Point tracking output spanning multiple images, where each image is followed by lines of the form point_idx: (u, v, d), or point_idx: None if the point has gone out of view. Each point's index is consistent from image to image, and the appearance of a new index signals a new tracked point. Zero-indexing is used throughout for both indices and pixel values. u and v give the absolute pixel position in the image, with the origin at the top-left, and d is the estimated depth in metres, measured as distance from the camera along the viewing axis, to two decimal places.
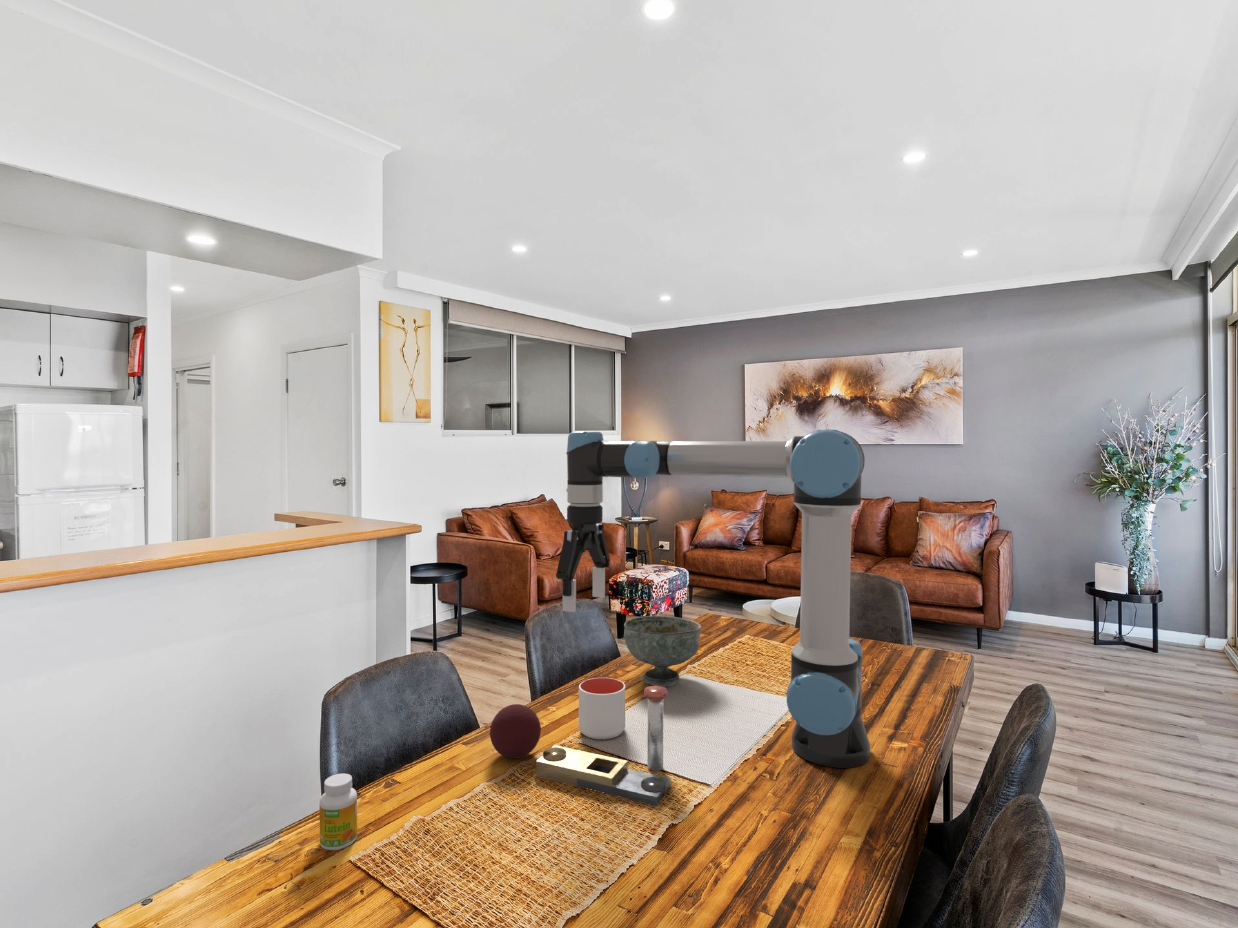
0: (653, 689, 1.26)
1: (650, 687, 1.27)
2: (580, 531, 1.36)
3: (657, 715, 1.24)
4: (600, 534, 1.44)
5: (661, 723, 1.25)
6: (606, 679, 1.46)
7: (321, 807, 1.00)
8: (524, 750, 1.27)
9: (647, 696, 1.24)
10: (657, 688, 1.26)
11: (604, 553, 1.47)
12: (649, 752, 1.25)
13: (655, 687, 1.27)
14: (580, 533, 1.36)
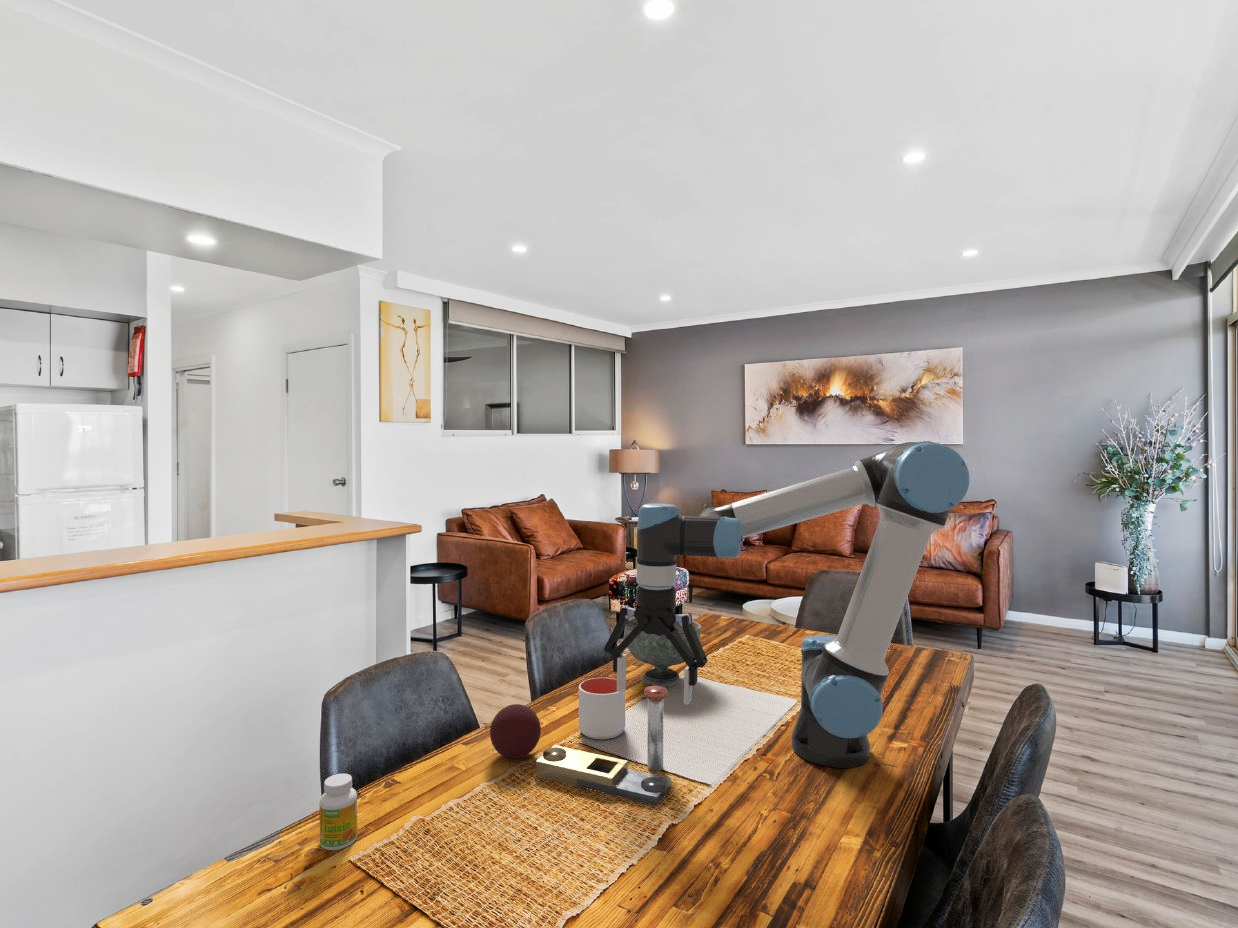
0: (653, 689, 1.26)
1: (650, 687, 1.27)
2: (635, 611, 1.26)
3: (657, 715, 1.24)
4: None
5: (661, 723, 1.25)
6: (606, 679, 1.46)
7: (321, 807, 1.00)
8: (524, 750, 1.27)
9: (647, 696, 1.24)
10: (657, 688, 1.26)
11: None
12: (649, 752, 1.25)
13: (655, 687, 1.27)
14: (634, 613, 1.26)
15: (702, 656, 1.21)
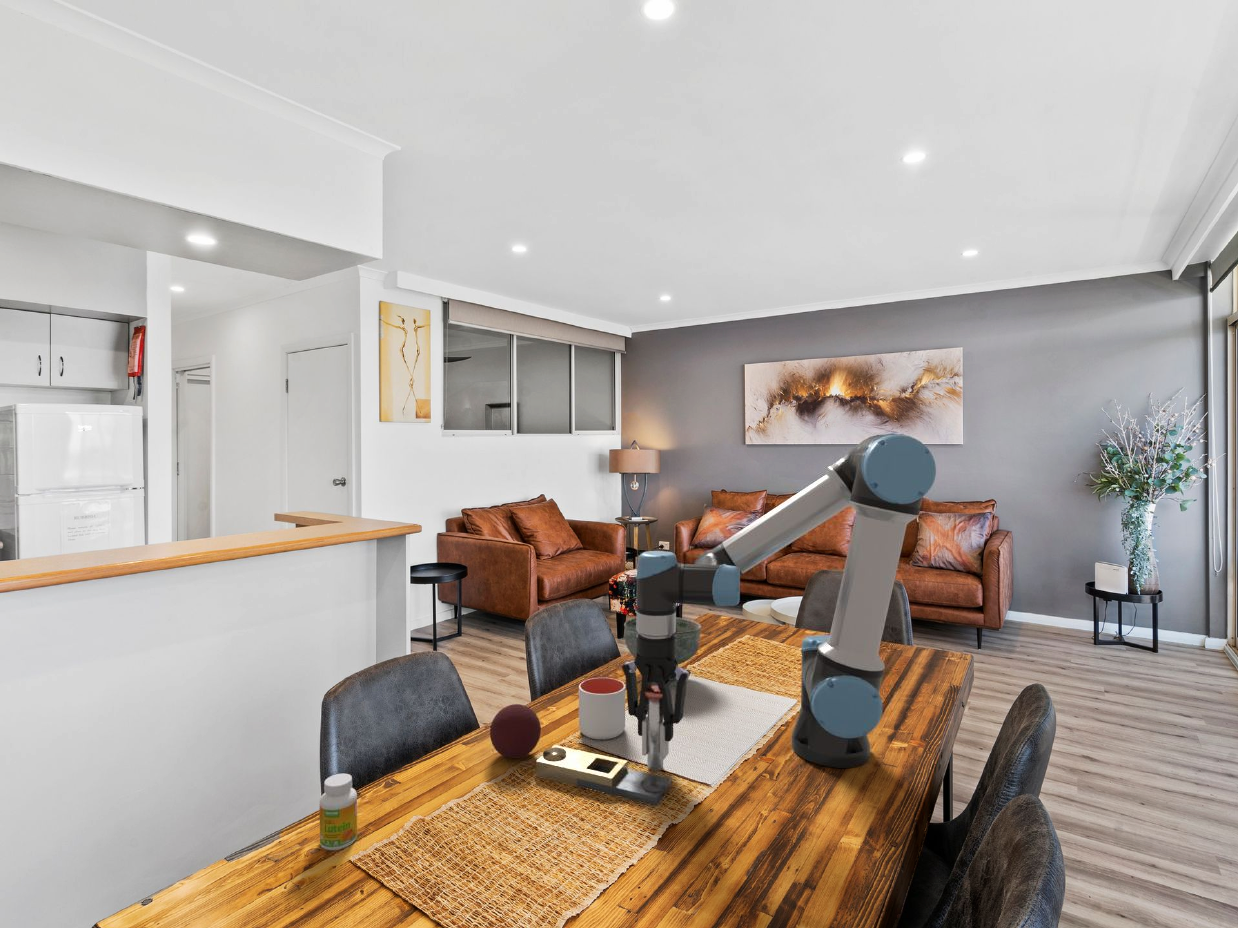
0: (653, 689, 1.26)
1: None
2: (634, 661, 1.26)
3: (657, 715, 1.24)
4: None
5: (661, 723, 1.25)
6: (606, 679, 1.46)
7: (321, 807, 1.00)
8: (524, 750, 1.27)
9: (647, 696, 1.24)
10: (657, 688, 1.26)
11: None
12: (649, 752, 1.25)
13: (655, 687, 1.27)
14: (635, 663, 1.26)
15: (680, 714, 1.23)
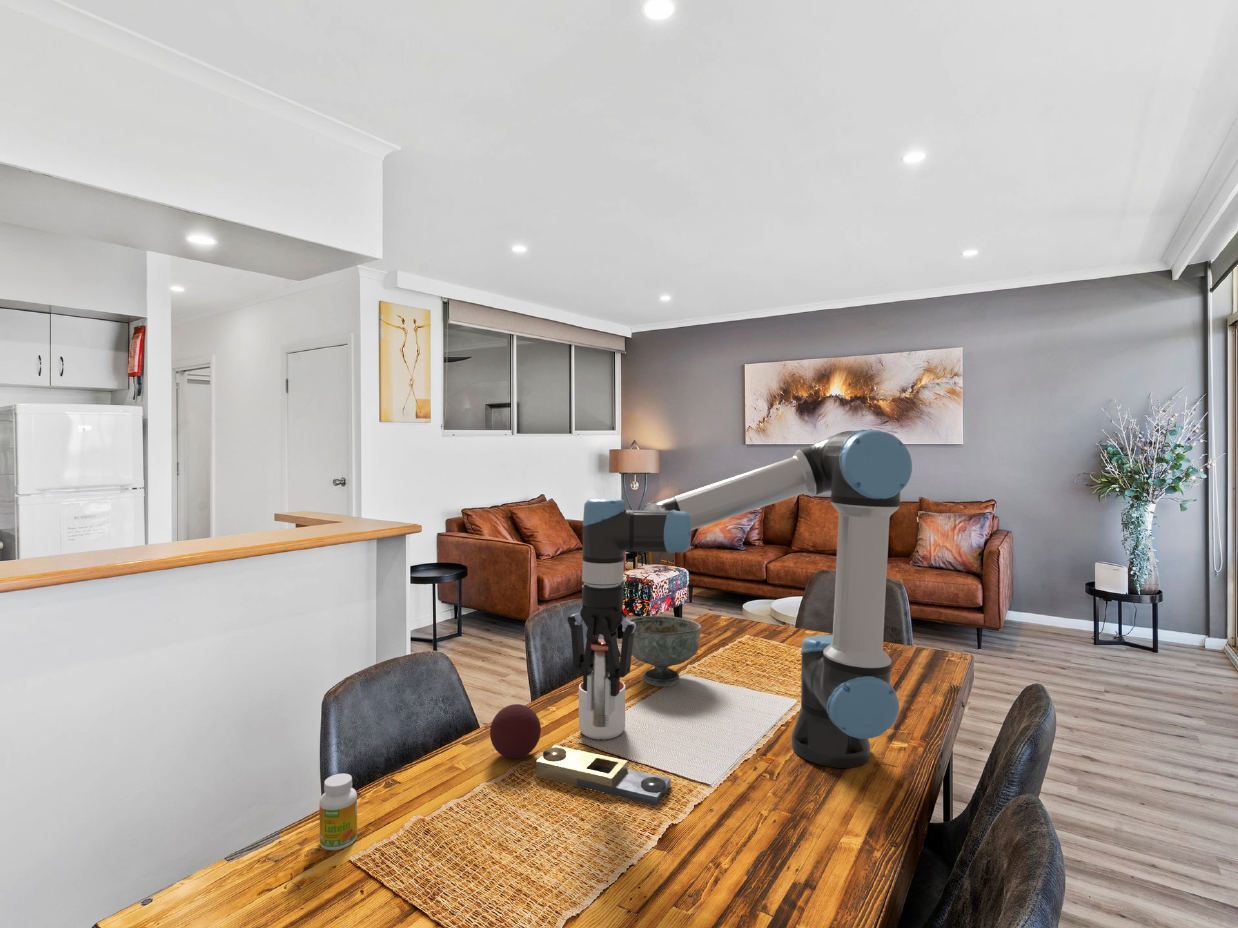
0: (600, 642, 1.20)
1: (597, 640, 1.21)
2: (580, 612, 1.21)
3: (602, 669, 1.19)
4: None
5: (607, 677, 1.19)
6: None
7: (321, 807, 1.00)
8: (524, 750, 1.27)
9: (592, 648, 1.19)
10: (604, 641, 1.21)
11: None
12: (594, 707, 1.19)
13: (602, 640, 1.21)
14: (581, 615, 1.20)
15: (626, 667, 1.18)
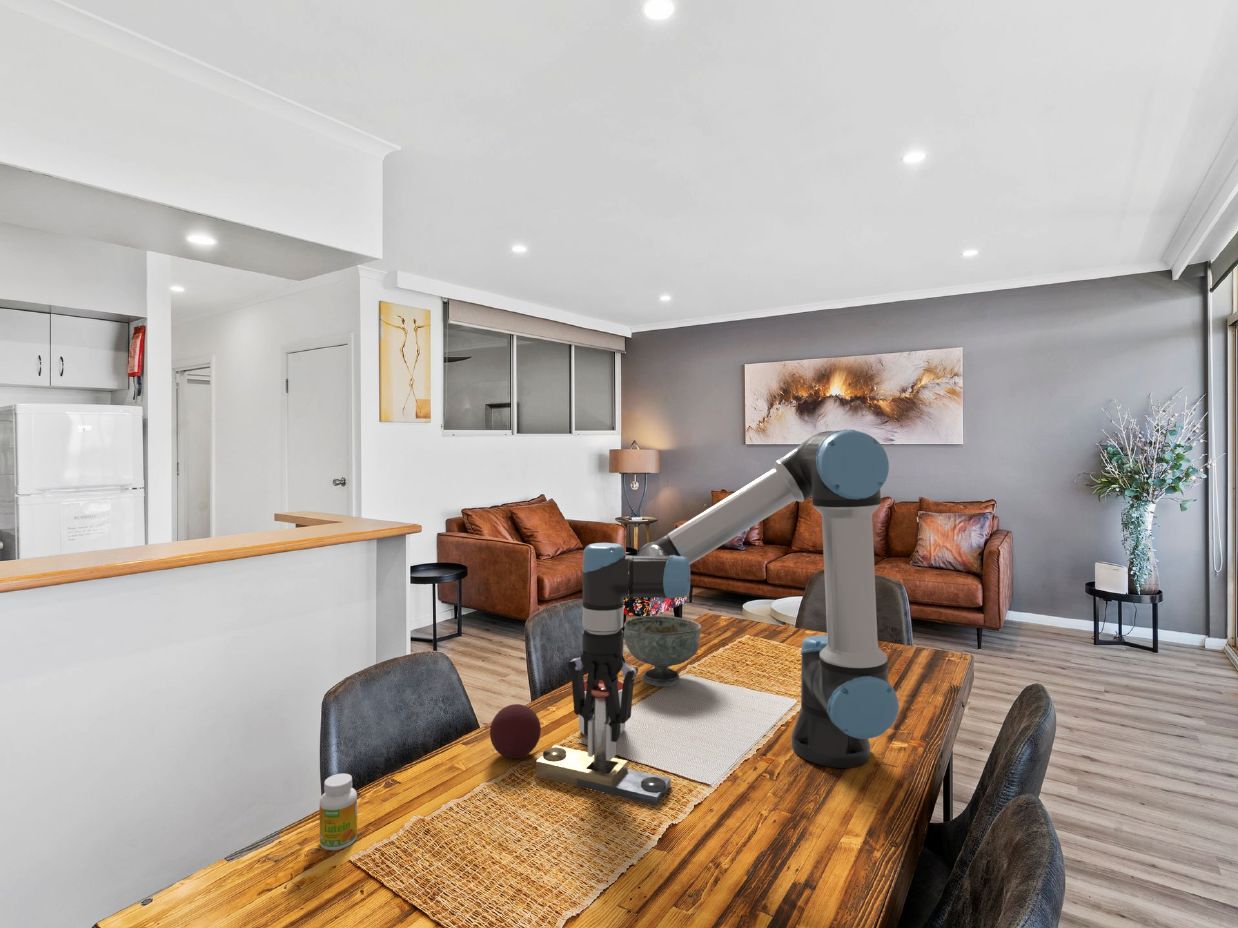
0: (600, 687, 1.20)
1: None
2: (581, 658, 1.21)
3: (603, 714, 1.19)
4: None
5: (607, 723, 1.19)
6: None
7: (321, 807, 1.00)
8: (524, 750, 1.27)
9: (593, 694, 1.19)
10: (604, 686, 1.21)
11: None
12: (595, 753, 1.20)
13: (602, 685, 1.22)
14: (581, 660, 1.21)
15: (627, 713, 1.18)
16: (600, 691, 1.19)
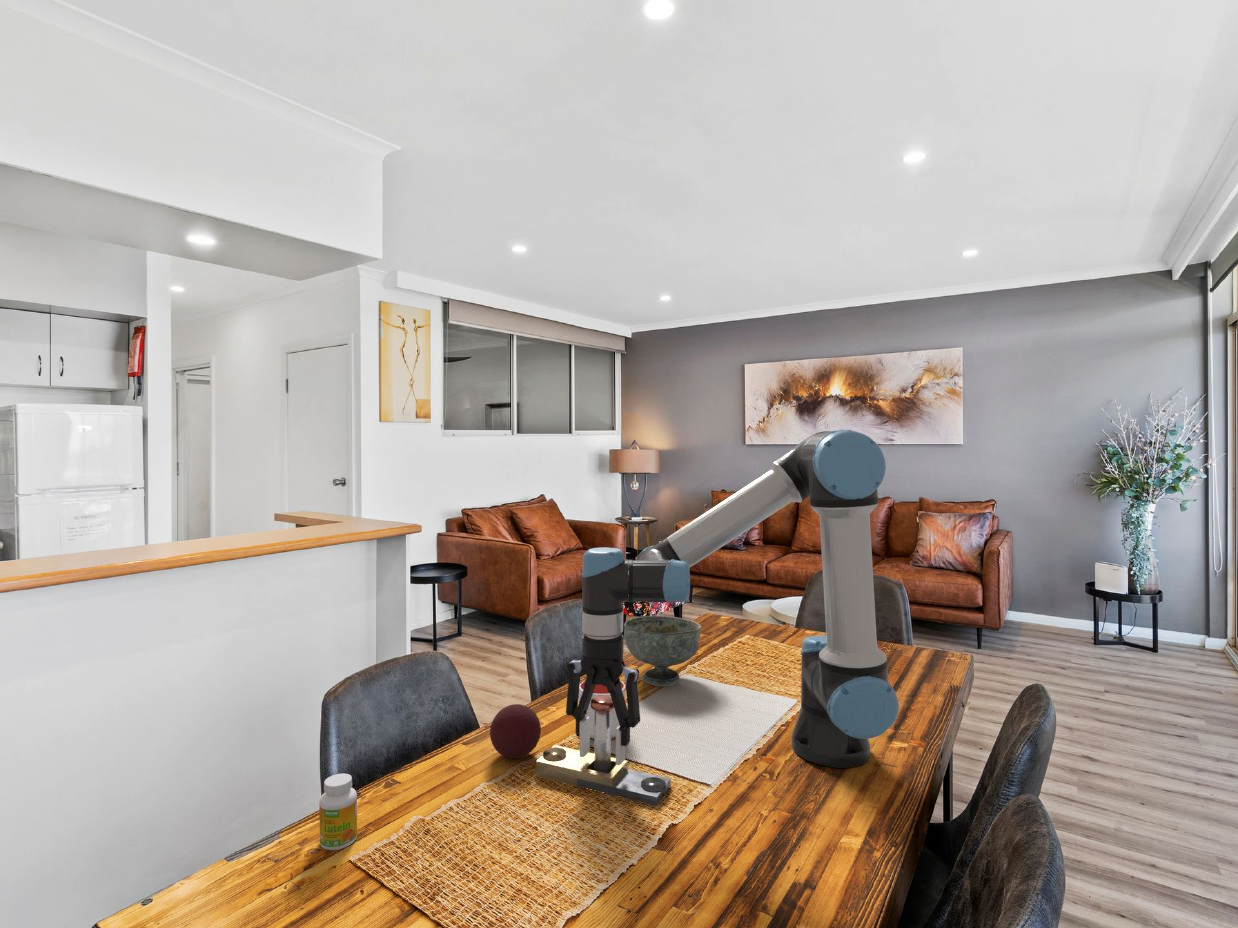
0: (601, 700, 1.21)
1: (598, 698, 1.21)
2: (581, 662, 1.21)
3: (603, 727, 1.19)
4: None
5: (608, 736, 1.20)
6: None
7: (321, 807, 1.00)
8: (524, 750, 1.27)
9: (593, 707, 1.19)
10: (605, 699, 1.21)
11: None
12: (596, 766, 1.20)
13: (603, 697, 1.22)
14: (581, 664, 1.21)
15: (636, 716, 1.17)
16: (600, 704, 1.19)
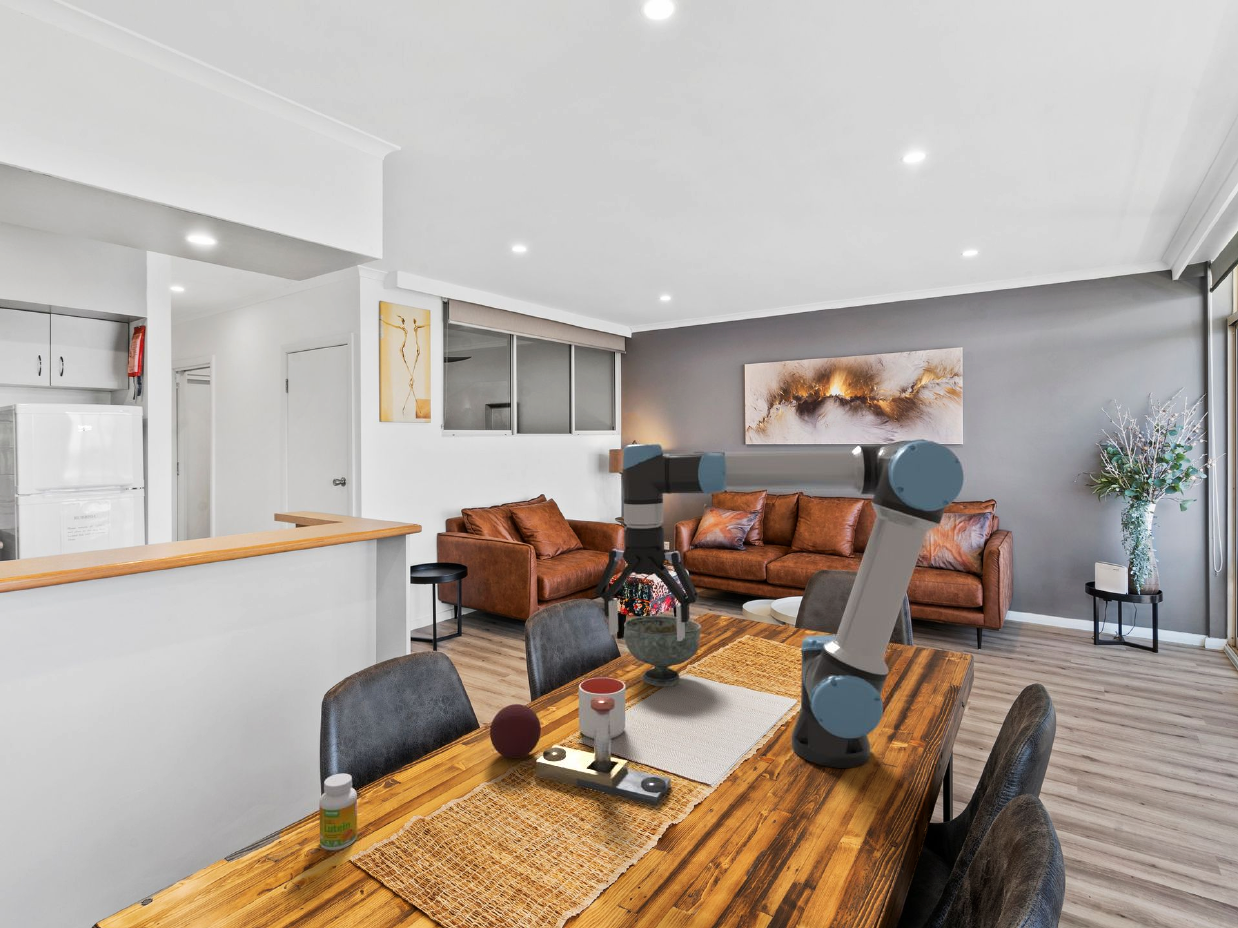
0: (600, 700, 1.21)
1: (598, 698, 1.21)
2: (624, 552, 1.26)
3: (603, 727, 1.19)
4: None
5: (608, 736, 1.20)
6: (606, 679, 1.46)
7: (321, 807, 1.00)
8: (524, 750, 1.27)
9: (593, 707, 1.19)
10: (605, 699, 1.21)
11: None
12: (596, 766, 1.20)
13: (603, 698, 1.22)
14: (624, 554, 1.26)
15: (693, 592, 1.21)
16: (600, 704, 1.19)
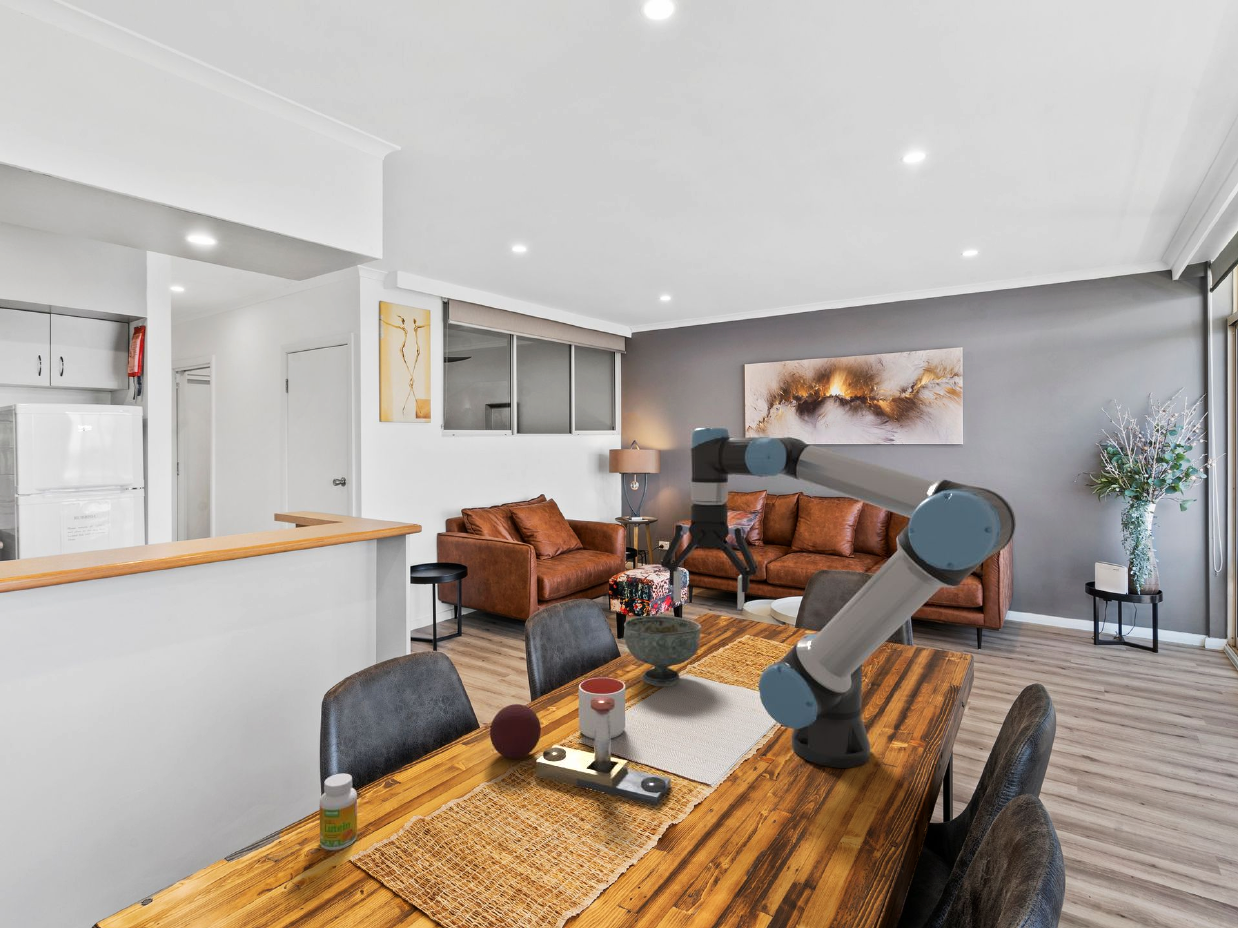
0: (600, 700, 1.21)
1: (598, 698, 1.21)
2: (690, 527, 1.37)
3: (603, 727, 1.19)
4: None
5: (608, 736, 1.20)
6: (606, 679, 1.46)
7: (321, 807, 1.00)
8: (524, 750, 1.27)
9: (593, 707, 1.19)
10: (605, 699, 1.21)
11: None
12: (596, 766, 1.20)
13: (603, 697, 1.22)
14: (689, 529, 1.37)
15: (754, 564, 1.32)
16: (600, 704, 1.19)
